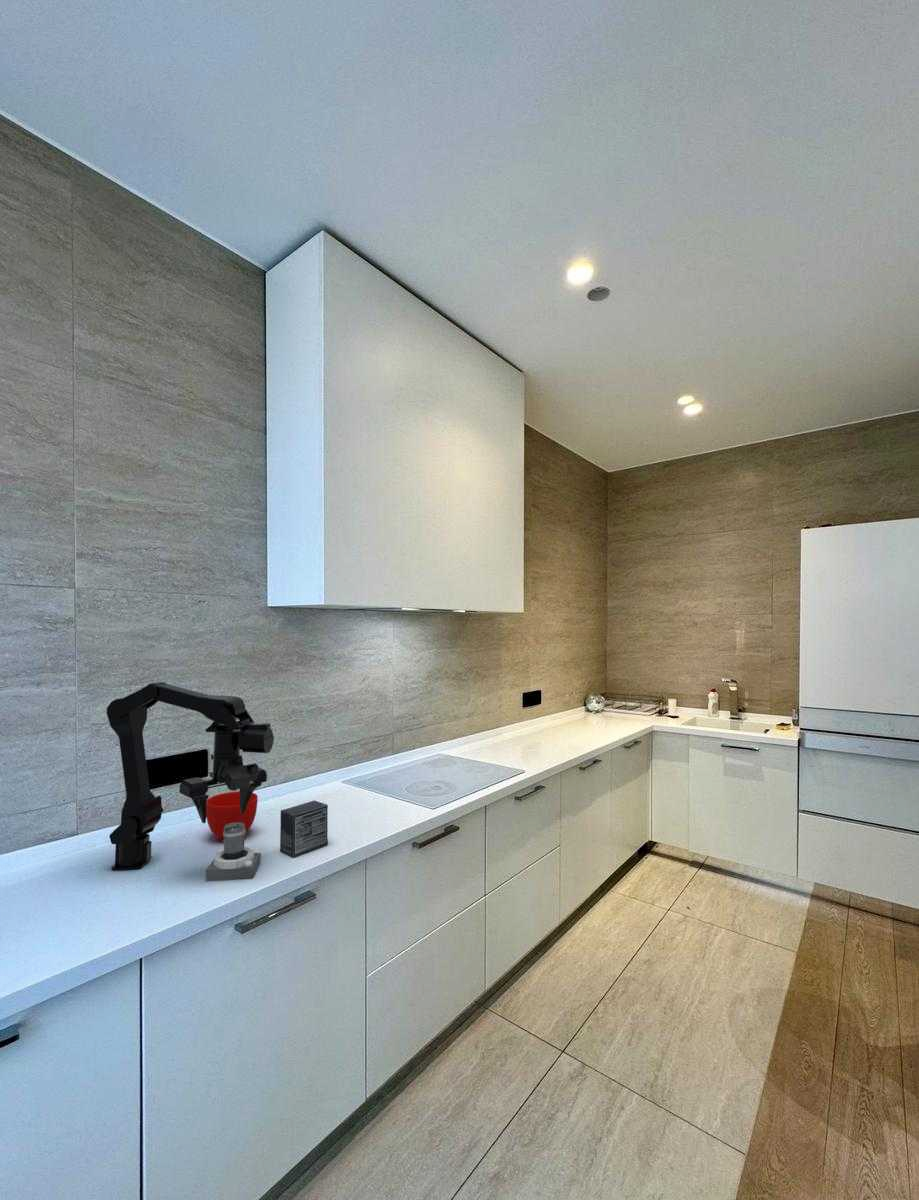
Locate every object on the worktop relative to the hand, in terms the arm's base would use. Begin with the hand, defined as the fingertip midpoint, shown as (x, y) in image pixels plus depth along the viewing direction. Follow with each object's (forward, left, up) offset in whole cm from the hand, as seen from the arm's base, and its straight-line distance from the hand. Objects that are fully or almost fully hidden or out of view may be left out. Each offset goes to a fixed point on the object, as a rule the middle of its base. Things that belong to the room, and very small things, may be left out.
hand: (223, 817), depth 128 cm
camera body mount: (+3, -3, -12) cm, 12 cm away
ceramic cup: (-3, +21, -12) cm, 25 cm away
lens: (+3, -3, -9) cm, 10 cm away
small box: (+17, +9, -12) cm, 23 cm away
